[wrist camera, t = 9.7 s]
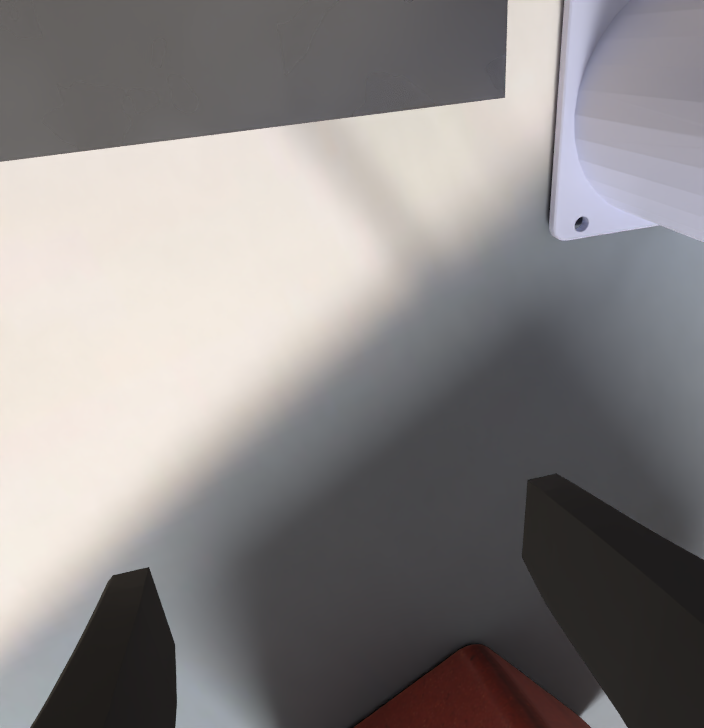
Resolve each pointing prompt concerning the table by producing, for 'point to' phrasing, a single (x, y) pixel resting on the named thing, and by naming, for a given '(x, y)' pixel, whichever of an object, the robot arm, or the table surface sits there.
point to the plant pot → (474, 698)
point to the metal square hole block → (232, 66)
